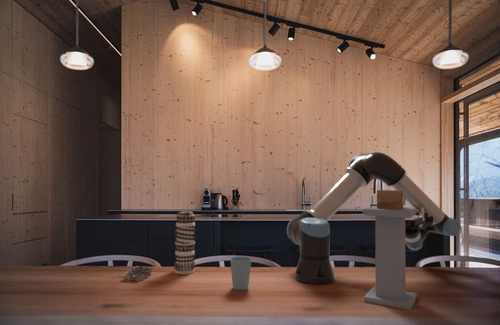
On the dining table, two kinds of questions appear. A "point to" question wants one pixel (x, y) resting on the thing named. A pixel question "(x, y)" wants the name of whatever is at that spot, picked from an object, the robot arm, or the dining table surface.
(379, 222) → the stand
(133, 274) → the brown lumpy stone
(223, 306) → the dining table surface
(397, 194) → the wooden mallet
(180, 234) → the decorative candle
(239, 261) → the cup
